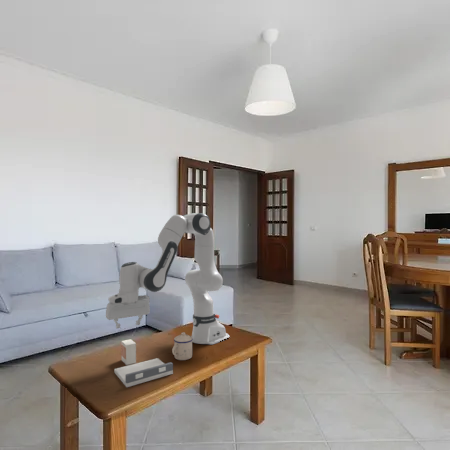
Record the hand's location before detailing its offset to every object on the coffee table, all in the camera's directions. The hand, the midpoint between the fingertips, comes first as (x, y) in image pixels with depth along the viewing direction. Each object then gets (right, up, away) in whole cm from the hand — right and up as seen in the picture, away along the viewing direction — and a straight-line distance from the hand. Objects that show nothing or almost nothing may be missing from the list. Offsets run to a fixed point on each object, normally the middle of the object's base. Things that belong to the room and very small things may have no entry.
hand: (128, 326), depth 149 cm
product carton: (0, -17, 0) cm, 17 cm away
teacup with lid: (+25, -17, +4) cm, 30 cm away
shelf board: (+10, -16, -12) cm, 23 cm away
